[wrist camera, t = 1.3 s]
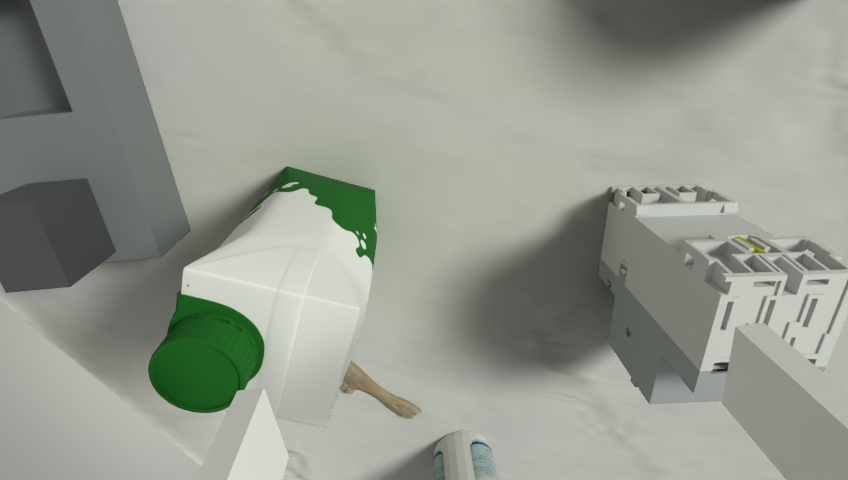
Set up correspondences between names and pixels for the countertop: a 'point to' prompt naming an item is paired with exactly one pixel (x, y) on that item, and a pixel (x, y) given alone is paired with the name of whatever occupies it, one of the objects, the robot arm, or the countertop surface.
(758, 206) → the countertop surface
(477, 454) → the spray can
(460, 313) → the countertop surface
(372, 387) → the jawbone
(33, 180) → the power strip
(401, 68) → the countertop surface
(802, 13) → the countertop surface
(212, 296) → the milk carton
